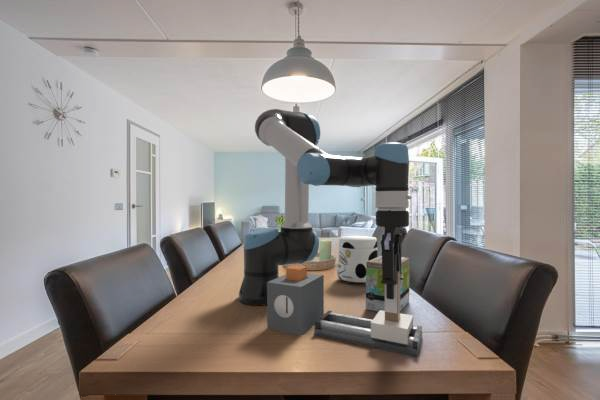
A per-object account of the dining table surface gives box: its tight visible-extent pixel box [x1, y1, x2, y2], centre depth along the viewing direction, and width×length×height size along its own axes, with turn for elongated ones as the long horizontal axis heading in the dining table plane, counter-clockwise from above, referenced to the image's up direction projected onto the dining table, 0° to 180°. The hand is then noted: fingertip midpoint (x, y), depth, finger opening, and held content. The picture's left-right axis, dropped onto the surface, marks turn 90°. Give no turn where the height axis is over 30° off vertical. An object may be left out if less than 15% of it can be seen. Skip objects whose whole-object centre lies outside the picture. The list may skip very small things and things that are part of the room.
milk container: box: [336, 235, 378, 285], centre depth 127 cm, size 17×17×18 cm
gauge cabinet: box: [266, 272, 325, 337], centre depth 84 cm, size 10×14×12 cm
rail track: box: [313, 310, 423, 357], centre depth 75 cm, size 24×10×3 cm, turn 63°
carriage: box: [371, 271, 414, 345], centre depth 73 cm, size 8×9×14 cm
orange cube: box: [285, 264, 308, 281], centre depth 84 cm, size 4×4×4 cm
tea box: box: [365, 254, 411, 313], centre depth 98 cm, size 15×10×15 cm, turn 148°
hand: (392, 309), depth 73 cm, fingers closed on carriage, 3 cm apart
